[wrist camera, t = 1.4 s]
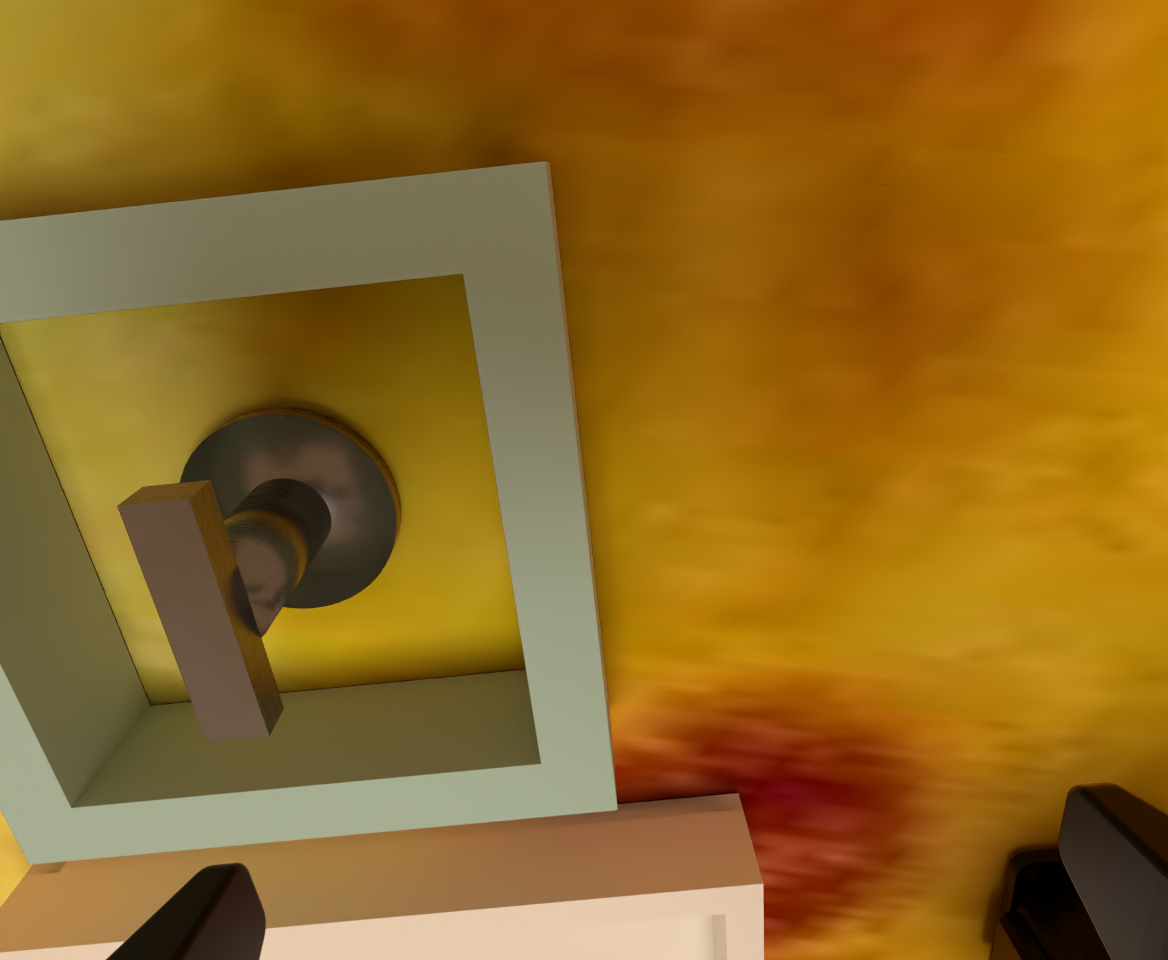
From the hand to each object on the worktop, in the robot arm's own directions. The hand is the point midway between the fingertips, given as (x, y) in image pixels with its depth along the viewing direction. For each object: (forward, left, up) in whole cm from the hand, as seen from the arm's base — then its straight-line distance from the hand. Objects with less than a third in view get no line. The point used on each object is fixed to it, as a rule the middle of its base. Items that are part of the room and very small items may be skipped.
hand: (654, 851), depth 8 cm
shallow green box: (+8, 0, -11) cm, 13 cm away
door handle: (+8, 0, -11) cm, 13 cm away
